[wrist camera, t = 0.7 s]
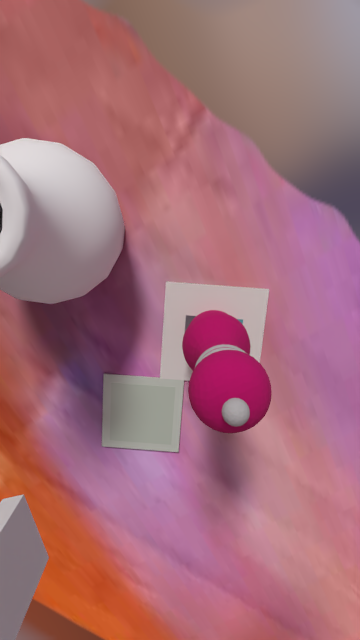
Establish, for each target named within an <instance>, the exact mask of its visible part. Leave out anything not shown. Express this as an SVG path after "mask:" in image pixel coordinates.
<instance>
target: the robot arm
mask: <svg viewBox="0 0 360 640" xmlns="http://www.w3.org/2000/svg"><path fill="white" fill-rule="evenodd" d="M48 558H49V557H48V554H47V552H46V549H45V547H44V544H43V542H42V539H41V537H40V534H39V532H38V529H37V527H36V524H35V522H34V519H33V517H32V514H31V512H30V509H29V507H28V504H27V501H26V499H25V496H24V495H19V496H15V497H10V498H6V499H3V500H2V501H1V503H0V640H15V639H16V636H17V634H18V631H19V629H20V626H21V624H22V622H23V619H24V617H25V614H26V612H27V610H28V607H29V604H30V602H31V600H32V597H33V595H34V593H35V590H36V588H37V585H38V583H39V580H40V578H41V575H42V573H43V571H44V568H45V566H46V563H47V561H48Z"/></svg>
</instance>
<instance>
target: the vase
mask: <svg viewBox="0 0 360 640" xmlns="http://www.w3.org/2000/svg"><path fill="white" fill-rule="evenodd" d="M124 233H125V225H124V220H123V217H122V213H121V210H120V206H119V203H118V199H117V196H116V193H115V191H114V190H113V188H112V187H111V186H110V184H109V183H108V182H107V180H106V179H105V178H104V176H103V175H102V174H101V172H100V171H99V170H98V168H97V167H96V166H95V164H93V163H92V162H91V161H89V160H88V159H86V158H84V157H83V156H81V155H79V154H78V153H76V152H75V151H73V150H71V149H70V148H68V147H66V146H65V145H63V144H60V143H56V142H49V141H42V140H36V139H29V138H22V139H18V140H15V141H11V142H8V143H5V144H1V145H0V290H2V291H4V292H5V293H7V294H9V295H11V296H13V297H14V298H17V299H19V300H25V301H32V302H39V303H46V304H55V303H59V302H62V301H66V300H70V299H74V298H78V297H82V296H84V295H85V294H87V293H88V292H89V291H91V290H92V289H93V288H94V287H96V286H97V285H98V284H99V283H101V282H102V281H103V280H104V279H106V278H107V277H108V275H109V274H110V272H111V270H112V268H113V266H114V264H115V262H116V261H117V259H118V257H119V255H120V253H121V251H122V249H123V243H124Z"/></svg>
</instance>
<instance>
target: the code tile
mask: <svg viewBox="0 0 360 640" xmlns="http://www.w3.org/2000/svg"><path fill="white" fill-rule="evenodd" d="M268 295H269V289H262V288H248V287H235V286H221V285H208V284H194V283H181V282H168V281H166V291H165V306H164V322H163V338H162V354H161V370H160V378H161V379H174V380H187V381H190V377H191V375H192V372H193V371H192V369H191V368H190V367H189V366H188V364H187V362H186V360H185V358H184V354H183V349H182V341H183V336H184V334H185V331H186V329H187V328H188V326H189V325H190V323H191V321H192V320H193V319H194V318H195V317H196V316H197V315H199V314H200V313H202V312H205V311H209V310H219V311H222V312H225V313H227V314H228V315H231V316H233V317H235V318H236V319H237V320H239V321H240V322H241V323H242V325H243V326H244V327H245V329H246V331H247V333H248V336H249V339H250V346H251V347H250V356H252V357H254V358H255V359H256V360H257V361H258V362H259V363H260V356H261V349H262V341H263V333H264V326H265V318H266V310H267V302H268Z"/></svg>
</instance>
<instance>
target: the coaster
mask: <svg viewBox="0 0 360 640" xmlns="http://www.w3.org/2000/svg"><path fill="white" fill-rule="evenodd" d="M183 388H184V380H174V379H161V378H157V377H144V376H131V375H117V374H104V378H103V418H102V446H103V447H116V448H129V449H143V450H156V451H169V452H178V451H179V438H180V426H181V413H182V401H183Z"/></svg>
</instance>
